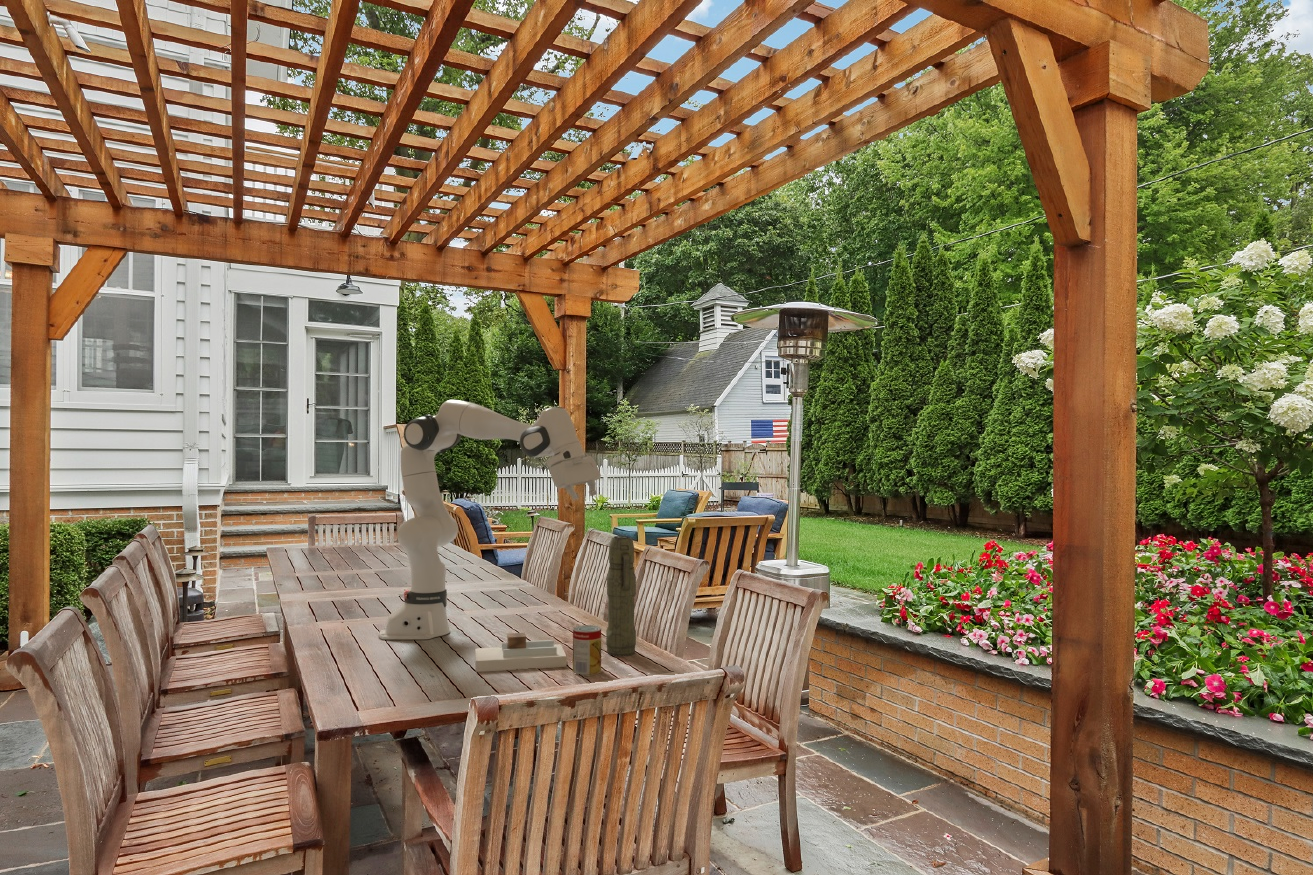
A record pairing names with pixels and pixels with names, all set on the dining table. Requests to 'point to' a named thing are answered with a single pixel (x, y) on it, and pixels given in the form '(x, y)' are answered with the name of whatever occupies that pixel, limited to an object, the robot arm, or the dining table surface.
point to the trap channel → (520, 656)
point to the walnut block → (516, 640)
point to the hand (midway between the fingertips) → (585, 497)
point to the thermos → (621, 598)
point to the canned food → (587, 650)
